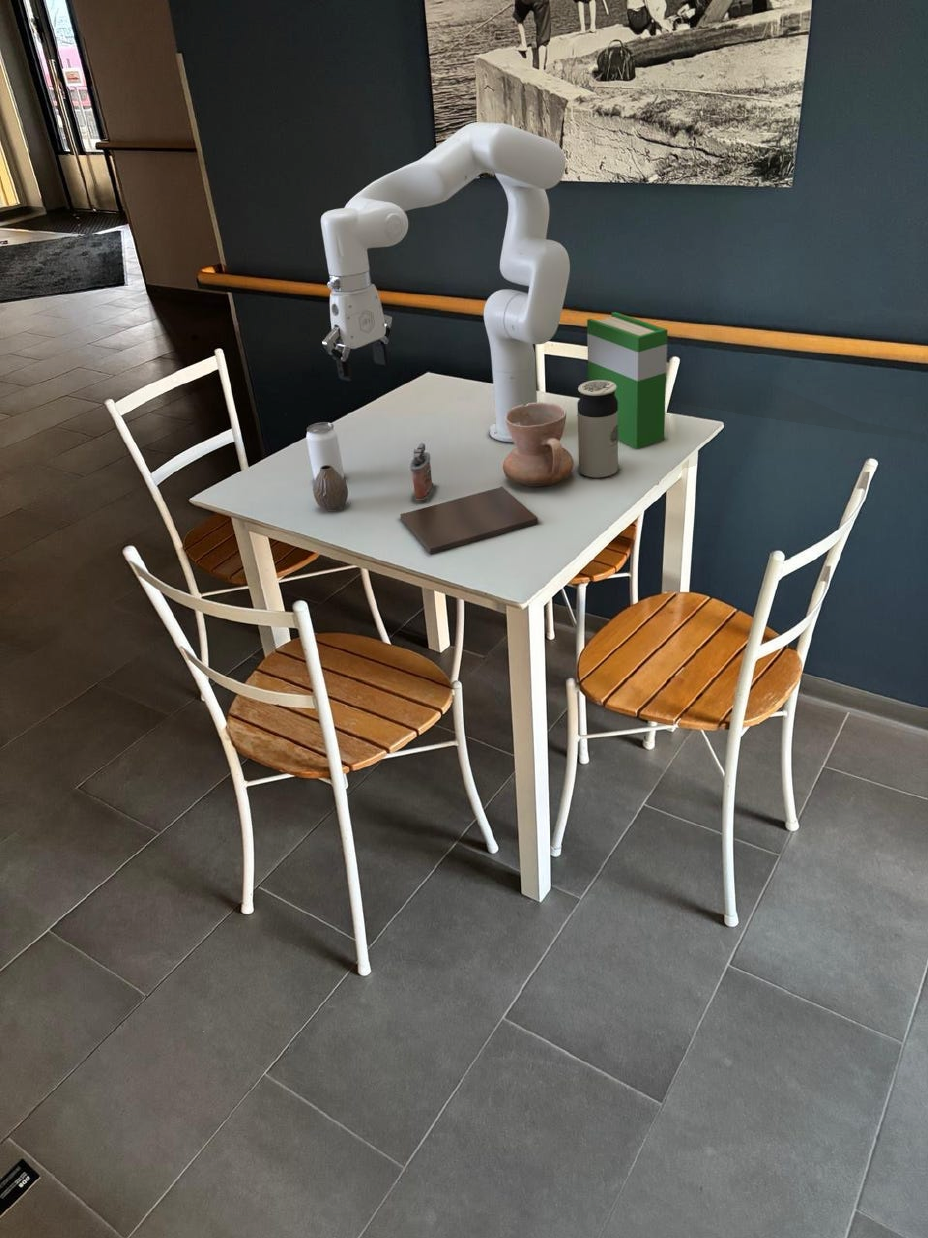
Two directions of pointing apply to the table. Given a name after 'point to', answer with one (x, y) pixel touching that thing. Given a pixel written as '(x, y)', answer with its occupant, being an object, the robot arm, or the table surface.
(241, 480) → the table surface
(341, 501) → the vase
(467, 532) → the walnut board
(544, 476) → the ceramic jug
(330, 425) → the can
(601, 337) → the hardback book
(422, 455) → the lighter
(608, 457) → the travel mug
